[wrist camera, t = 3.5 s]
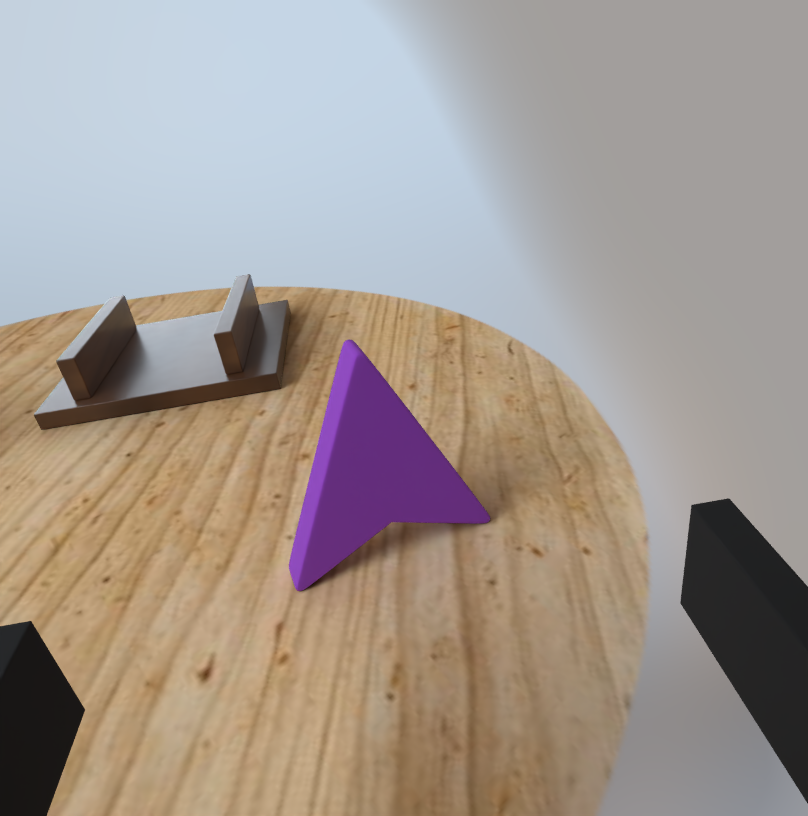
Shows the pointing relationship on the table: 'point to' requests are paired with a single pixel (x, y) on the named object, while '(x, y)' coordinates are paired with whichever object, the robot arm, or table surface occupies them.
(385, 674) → the table surface
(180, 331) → the rack
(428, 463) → the arrowhead
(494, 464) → the table surface
